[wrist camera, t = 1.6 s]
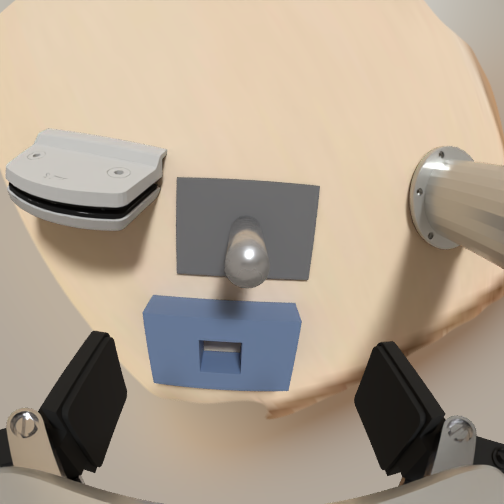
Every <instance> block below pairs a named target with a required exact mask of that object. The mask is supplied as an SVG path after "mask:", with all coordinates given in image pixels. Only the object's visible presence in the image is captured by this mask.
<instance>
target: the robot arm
mask: <svg viewBox="0 0 504 504" xmlns="http://www.w3.org/2000/svg"><path fill="white" fill-rule="evenodd" d="M410 211H411V216H412V220H413V223H414V225H415V227H416V230H417V232H418V233H419V234H420V236H421V237H422V238H423V239H424V240H425V241H426V242H427V243H429V244H430V245H432V246H434V247H436V248H439V249H446V250H447V249H453V248H455V247H458V246H462V247H464V248H466V249H468V250H470V251H472V252H474V253H476V254H477V255H479V256H481V257H483V258H485V259H487V260H488V261H490V262H492V263H494V264H496V265H497V266H499V267H501V268H502V269H504V166H503V165H496V164H489V163H482V162H474V160H473V159H472V158H471V156H470V155H468V154H467V153H466V152H465V151H464V150H462V149H460V148H458V147H453V146H441V147H437V148H435V149H433V150H431V151H430V152H429V153H427V154H426V155H425V156H424V157H423V159H422V160H421V161H420V163H419V164H418V166H417V168H416V170H415V172H414V176H413V179H412V182H411V188H410ZM126 398H127V389H126V386H125V382H124V379H123V375H122V371H121V367H120V363H119V359H118V355H117V351H116V347H115V342H114V339H113V338H111V337H110V335H109V334H108V333H105V332H99V331H92V332H91V334H90V335H89V337H88V338H87V339H86V340H85V342H84V343H83V345H82V346H81V347H80V349H79V350H78V352H77V353H76V355H75V356H74V358H73V359H72V360H71V362H70V363H69V365H68V366H67V367H66V369H65V370H64V372H63V373H62V375H61V377H60V378H59V379H58V381H57V382H56V384H55V386H54V387H53V389H52V390H51V392H50V393H49V395H48V397H47V398H46V400H45V401H44V403H43V404H42V406H41V407H40V409H39V411H38V412H37V411H36V410H34V409H32V408H21V409H18V410H16V411H14V412H13V413H11V415H10V416H9V417H8V420H7V423H6V424H7V425H6V428H5V429H1V430H0V504H162V503H155V502H151V501H146V500H141V499H136V498H132V497H127V496H123V495H120V494H116V493H112V492H108V491H105V490H101V489H97V488H94V487H91V486H88V485H85V483H84V481H83V479H82V476H81V475H82V472H83V470H87V471H90V472H93V473H95V472H96V469H97V467H101V466H102V464H103V461H104V458H105V455H106V452H107V449H108V446H109V444H110V441H111V438H112V435H113V432H114V429H115V427H116V424H117V421H118V419H119V416H120V414H121V411H122V408H123V406H124V403H125V401H126ZM354 403H355V406H356V409H357V411H358V413H359V416H360V418H361V420H362V423H363V425H364V428H365V430H366V432H367V435H368V437H369V440H370V442H371V445H372V447H373V450H374V452H375V455H376V457H377V460H378V462H379V465H380V467H381V469H382V470H385V471H386V474H387V476H389V475H393V474H396V473H399V472H401V475H402V479H401V481H400V484H399V486H398V487H395V488H392V489H388V490H384V491H381V492H377V493H374V494H370V495H366V496H362V497H358V498H353V499H349V500H344V501H339V502H333V503H328V504H504V444H501V443H498V442H494V441H491V440H487V439H484V438H481V437H478V436H476V428H475V426H474V424H473V423H472V422H471V421H470V420H469V419H467V418H465V417H462V416H451V417H449V418H448V419H447V420H445V418H444V415H445V413H444V411H443V410H442V408H441V407H440V405H439V404H438V402H437V401H436V399H435V398H434V396H433V395H432V393H431V392H430V391H429V389H428V388H427V386H426V385H425V383H424V382H423V381H422V379H421V378H420V376H419V375H418V374H417V372H416V371H415V369H414V368H413V367H412V365H411V364H410V362H409V361H408V360H407V358H406V357H405V356H404V354H403V353H402V352H401V350H400V349H399V348H398V346H397V345H396V344H395V343H394V342H393V341H390V342H380V343H378V344H377V346H376V347H374V348H373V350H372V353H371V355H370V358H369V361H368V364H367V367H366V369H365V372H364V375H363V377H362V380H361V382H360V385H359V387H358V390H357V393H356V395H355V399H354Z"/></svg>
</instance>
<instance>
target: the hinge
mask: <svg viewBox="0 0 504 504" xmlns="http://www.w3.org/2000/svg"><path fill="white" fill-rule="evenodd" d="M166 155H167V149H163V148H159V147H154V146H150V145H145V144H140V143H135V142H130V141H125V140H120V139H114V138H109V137H103V136H97V135H91V134H85V133H78V132H72V131H65V130H57V129H49V128H48V129H46V130H44V131H42V132H40V133H39V134H38V136H37V138H36V140H35V143H34V144H33V145H32V146H31V147H29V148H28V149H26V150H25V151H24V152H22V153H21V154H20V155H18V156H17V157H15V158H14V159H13V160H12V161H10V162H9V163H8V164H7V165H6V179H7V180H8V181H9V185H8V187H7V190H8V193H9V195H10V198H11V200H12V201H13V202H14V203H15V204H16V205H18V206H19V207H20V208H21V209H23V210H24V211H26V212H28V213H30V214H32V215H34V216H36V217H38V218H41V219H44V220H46V221H49V222H53V223H57V224H60V225H65V226H70V227H76V228H83V229H91V230H107V231H118V230H122V229H124V228H125V227H126V226H127V225H128V224H129V223H130V222H131V221H132V220H133V219H134V218H136V217H137V216H138V215H139V214H140V213H141V212H142V211H143V210H144V209H145V208H146V207H147V206H148V205H149V204H150V203H151V202H153V201H154V200H155V199H156V198H157V196H158V194H159V191H160V189H161V188H160V187H157V184H154V183H156V182H157V181H158V179H159V178H161V177H162V158H163V157H164V156H166Z"/></svg>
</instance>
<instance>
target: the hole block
mask: <svg viewBox="0 0 504 504" xmlns="http://www.w3.org/2000/svg"><path fill="white" fill-rule="evenodd" d="M143 319H144V327H145V334H146V341H147V347H148V353H149V359H150V365H151V370H152V375H153V380H154V383H159V384H166V385H174V386H183V387H193V388H205V389H219V390H239V391H288V390H289V385H290V380H291V375H292V370H293V365H294V360H295V355H296V350H297V345H298V339H299V334H300V328H301V323H302V321H301V318H300V316H299V313H298V310H297V307H296V304H295V303H277V302H251V301H230V300H213V299H197V298H183V297H170V296H158V295H153V296H152V298H151V299H150V301H149V303H148V304H147V306H146V308H145V309H144V311H143ZM204 340H205V341H220V342H239V343H241V353H238V352H219V351H204Z"/></svg>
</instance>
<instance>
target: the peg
mask: <svg viewBox="0 0 504 504" xmlns="http://www.w3.org/2000/svg"><path fill="white" fill-rule="evenodd" d="M269 271H270V263H269V259H268V255H267V251H266V247H265V243H264V239H263V235H262V231H261V227H260V224H259V223H258V221H257V220H256V219H254V218H253V217H250V216H241V217H239V218H237V219H236V220H235V221H234V222H233V223H232V225H231V230H230V236H229V242H228V248H227V254H226V260H225V273H226V276H227V278H228V279H229V280H230V281H231V282H232V283H233V284H234V285H236V286H238V287H241V288H253V287H256V286H258V285H260V284H261V283H263V282H264V281H265V280H266V278H267V277H268V274H269Z"/></svg>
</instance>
